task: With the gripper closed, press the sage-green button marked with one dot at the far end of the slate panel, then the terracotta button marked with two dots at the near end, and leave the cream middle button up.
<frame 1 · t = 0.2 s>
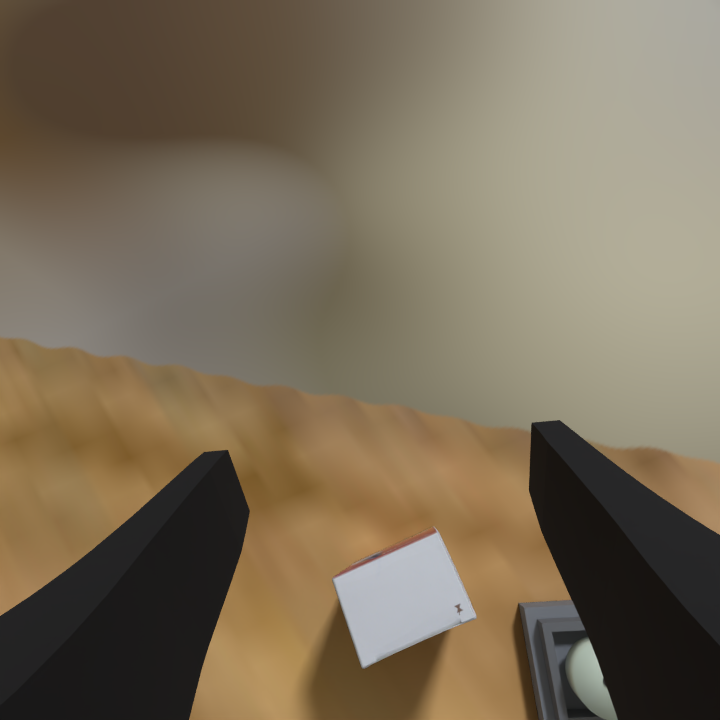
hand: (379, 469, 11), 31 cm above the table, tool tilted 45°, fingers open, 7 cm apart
small box: (406, 576, 38), on the table
sage button: (603, 677, 30), point 4 cm above the table, slide at 0.0 cm
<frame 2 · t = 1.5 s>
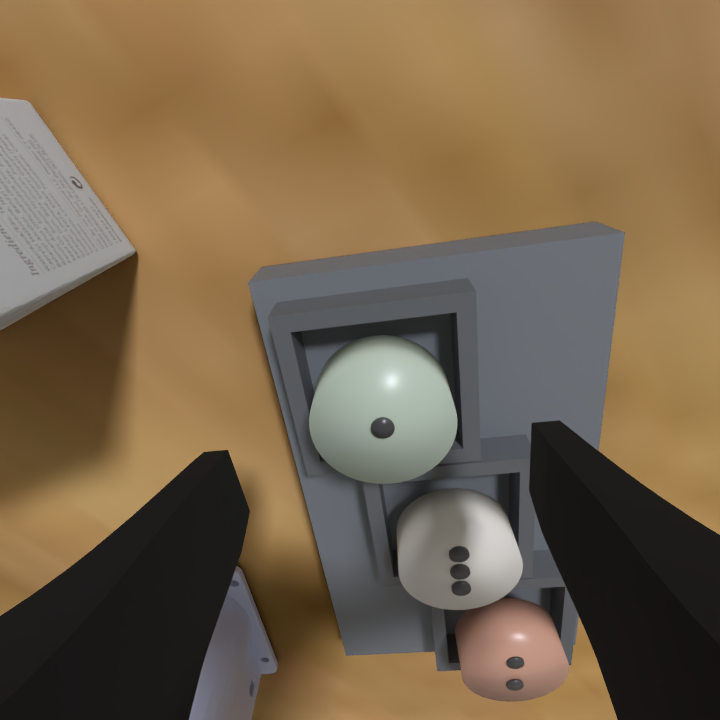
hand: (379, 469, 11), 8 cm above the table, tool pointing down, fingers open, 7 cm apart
cream button: (456, 550, 16), point 4 cm above the table, slide at 0.0 cm
clay button: (509, 651, 19), point 4 cm above the table, slide at 0.0 cm
small box: (14, 231, 16), on the table
button panel: (440, 471, 20), on the table
sage button: (382, 411, 14), point 4 cm above the table, slide at 0.0 cm
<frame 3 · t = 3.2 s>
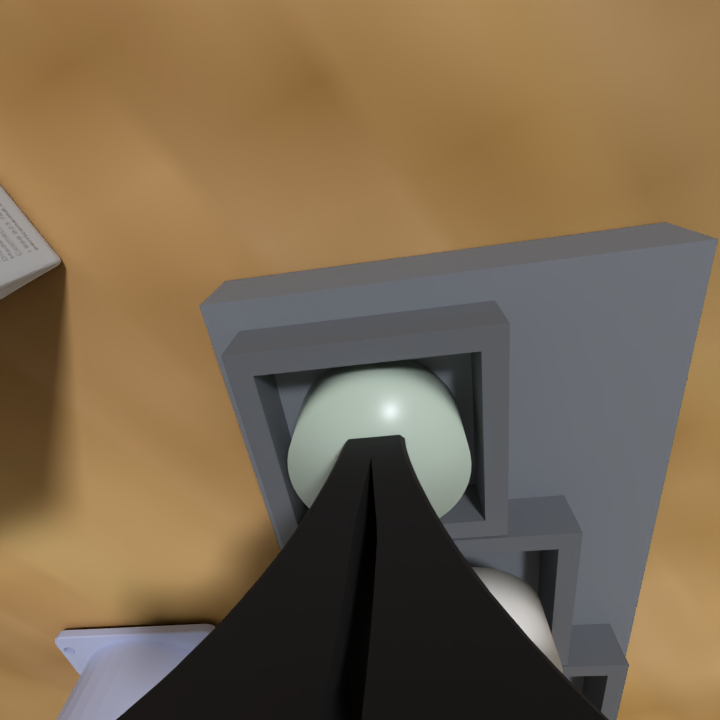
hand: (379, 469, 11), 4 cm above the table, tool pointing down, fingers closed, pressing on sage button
cream button: (474, 645, 13), point 4 cm above the table, slide at 0.0 cm
button panel: (452, 524, 17), on the table
sage button: (378, 447, 11), point 3 cm above the table, slide at 1.3 cm, touching gripper
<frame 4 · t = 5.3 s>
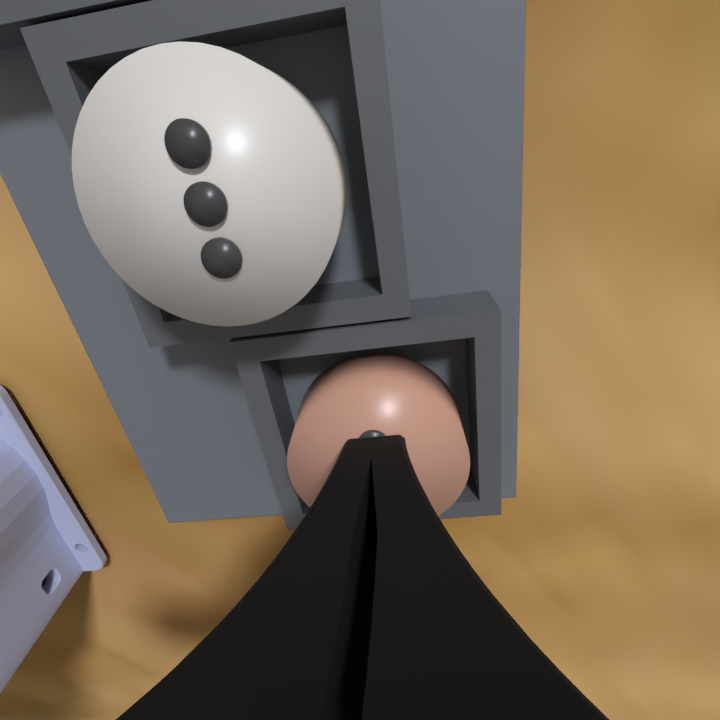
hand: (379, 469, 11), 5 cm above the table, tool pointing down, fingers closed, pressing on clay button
cream button: (223, 197, 8), point 4 cm above the table, slide at 0.0 cm
clay button: (377, 445, 11), point 4 cm above the table, slide at 0.7 cm, touching gripper
button panel: (275, 175, 12), on the table
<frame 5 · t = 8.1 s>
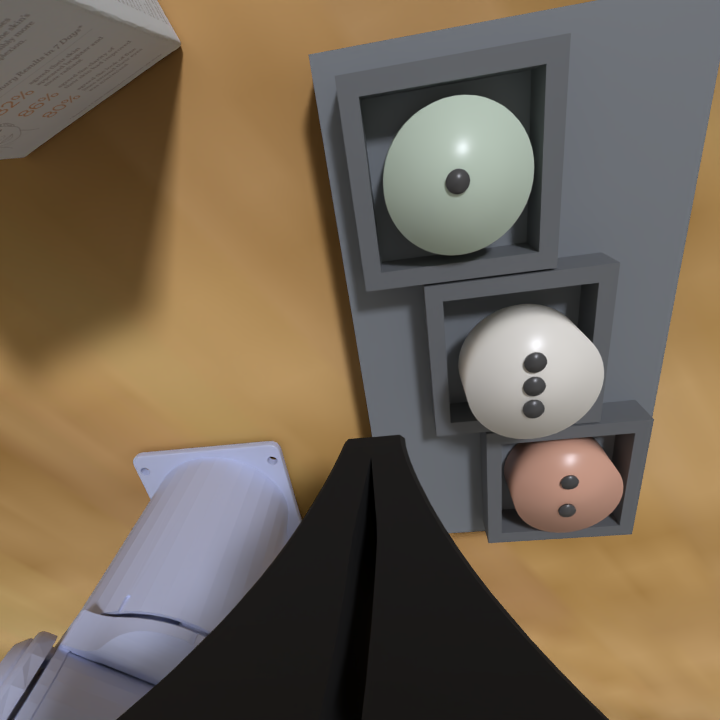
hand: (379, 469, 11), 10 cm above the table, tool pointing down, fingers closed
cream button: (526, 373, 15), point 4 cm above the table, slide at 0.0 cm
clay button: (560, 481, 19), point 3 cm above the table, slide at 1.4 cm
small box: (50, 26, 15), on the table
button panel: (497, 323, 19), on the table
sage button: (453, 178, 14), point 3 cm above the table, slide at 1.4 cm
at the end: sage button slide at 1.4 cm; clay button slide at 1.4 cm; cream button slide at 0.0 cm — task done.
